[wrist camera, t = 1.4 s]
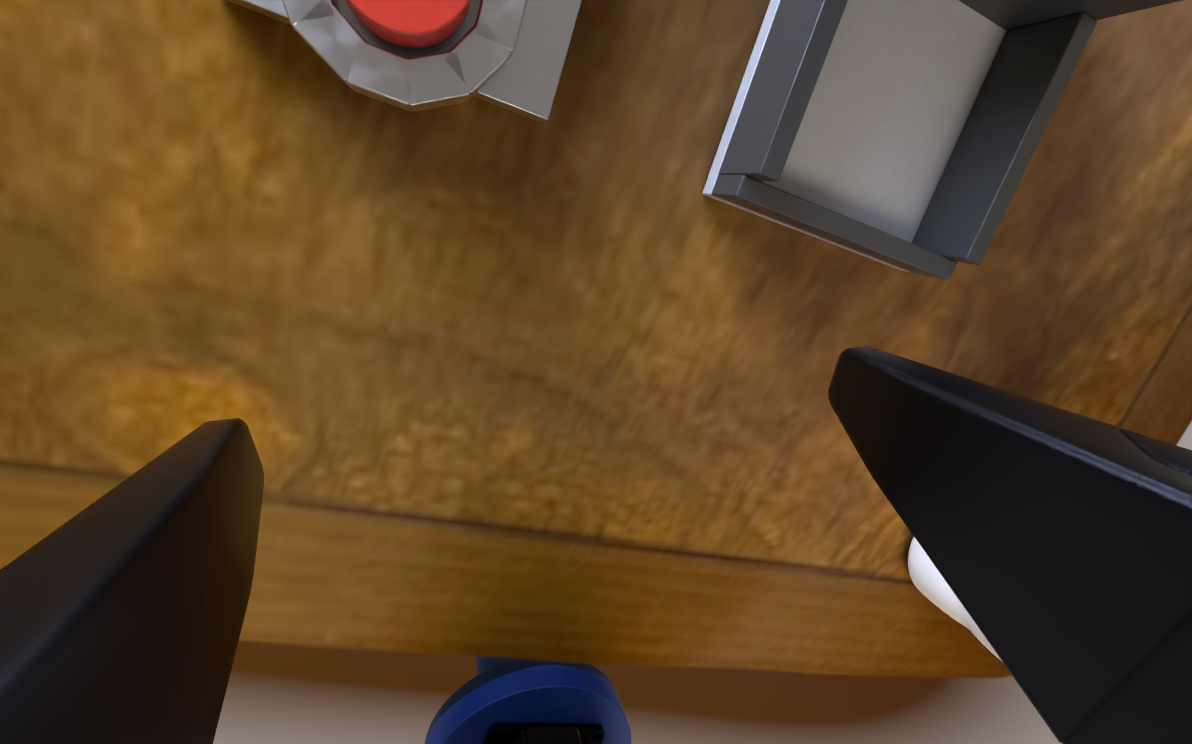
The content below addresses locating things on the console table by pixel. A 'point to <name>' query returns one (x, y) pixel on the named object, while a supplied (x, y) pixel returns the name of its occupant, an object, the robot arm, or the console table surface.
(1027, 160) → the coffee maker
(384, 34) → the button
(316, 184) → the console table surface
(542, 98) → the button block
